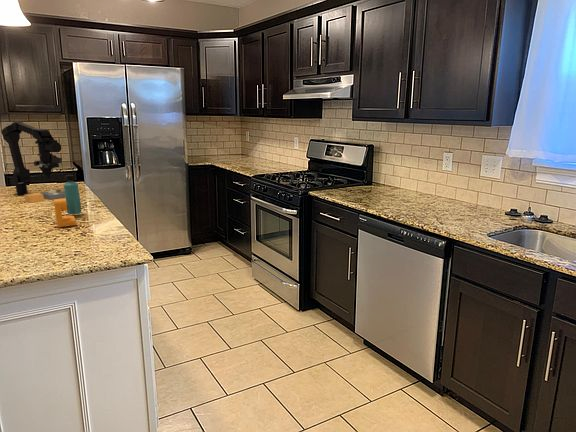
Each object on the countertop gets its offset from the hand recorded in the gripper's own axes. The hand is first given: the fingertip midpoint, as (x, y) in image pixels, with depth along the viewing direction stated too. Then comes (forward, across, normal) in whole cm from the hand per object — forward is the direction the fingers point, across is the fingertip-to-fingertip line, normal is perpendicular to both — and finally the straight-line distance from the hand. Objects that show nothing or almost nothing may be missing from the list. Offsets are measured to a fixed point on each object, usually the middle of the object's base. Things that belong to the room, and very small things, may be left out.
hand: (48, 178), depth 244 cm
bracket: (+11, -66, +23) cm, 71 cm away
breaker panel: (+11, 0, -3) cm, 11 cm away
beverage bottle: (+11, -54, +12) cm, 56 cm away
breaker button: (+11, 0, -1) cm, 11 cm away
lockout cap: (+11, -2, +10) cm, 15 cm away
